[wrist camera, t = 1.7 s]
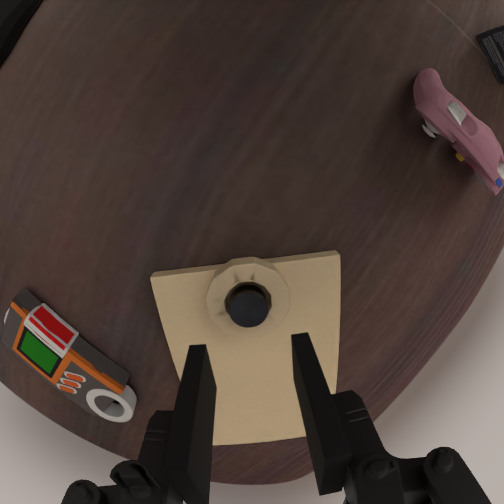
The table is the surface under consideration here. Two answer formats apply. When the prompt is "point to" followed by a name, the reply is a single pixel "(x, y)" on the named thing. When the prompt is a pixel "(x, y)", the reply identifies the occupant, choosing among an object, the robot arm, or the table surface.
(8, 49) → the gaming mouse
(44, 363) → the electronic device
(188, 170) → the table surface
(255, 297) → the button
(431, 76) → the video game controller
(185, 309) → the plate
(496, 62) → the box
